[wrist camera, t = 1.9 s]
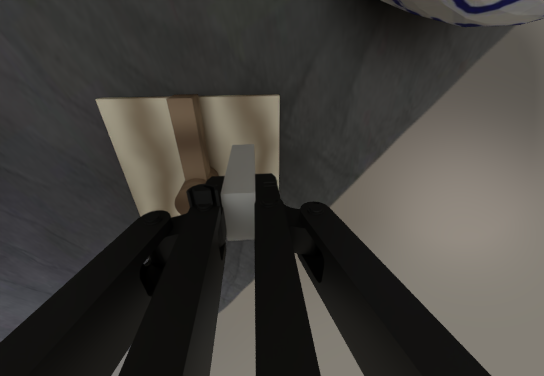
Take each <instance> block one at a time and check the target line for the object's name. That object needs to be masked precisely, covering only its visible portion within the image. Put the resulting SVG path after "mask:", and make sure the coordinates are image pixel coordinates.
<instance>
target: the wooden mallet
mask: <svg viewBox="0 0 544 376" xmlns="http://www.w3.org/2000/svg"><path fill="white" fill-rule="evenodd" d="M166 100H167V105H168V109H169V113H170V118H171V122H172V126H173V130H174V135H175V139H176V143H177V148H178V152H179V156H180V160H181V165H182V169H183V173H184V178H185V181H184V183H183V185H182V187H181V189H180V191H179V192H178V194H177V196H176V198H175V208H176V210H177V211H178V212H179V213H180V214H181V215H183V214H186V213H188V211H189V208H190V206H189V202H188V198H187V193H186V191H187V190H188V189H189V188H191V187H192V186H195V185H198V184H206V181H207V180H208V179H209V178H210V177H212V176H219V175H218V173H217V171H216V170H215V169H213V168H212V167H210V165H209V159H208V153H207V147H206V141H205V135H204V129H203V123H202V116H201V110H200V104H199V98H198V94H191V95H173V96H171V97H169V98H166Z"/></svg>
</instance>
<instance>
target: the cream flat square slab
mask: <svg viewBox="0 0 544 376" xmlns="http://www.w3.org/2000/svg"><path fill="white" fill-rule="evenodd" d="M170 97H171V96H170ZM166 98H169V97H118V98H99V99H95V100H96V102H97V105H98V107H99V110H100V113H101V115H102V118H103V120H104V123H105V126H106V128H107V131H108V133H109V136H110V139H111V141H112V144H113V146H114V149H115V152H116V154H117V157H118V159H119V162H120V165H121V167H122V170H123V172H124V175H125V178H126V180H127V183H128V185H129V188H130V191H131V193H132V196H133V198H134V201H135V203H136V206H137V209H138V211H139V214H140V216H142V215H144V214H146V213H149V212H151V211H156V210H164V211H167V212H169V213H170V215H171V217H175V216H179V215H181V214H180V213H179V212H178V211H177V210H176V208H175V198H176V196H177V194H178V192H179V191H180V189H181V187H182V185H183V183H184V181H185V178H184V173H183V169H182V165H181V160H180V156H179V152H178V148H177V143H176V139H175V135H174V130H173V126H172V122H171V118H170V113H169V109H168V105H167V100H166ZM198 98H199V104H200V110H201V116H202V123H203V129H204V135H205V141H206V147H207V153H208V159H209V165H210V167H212V168H213V169H215V170H216V171H217V173H218V175H219V176H225V173H226V169H227V165H228V161H229V157H230V153H231V149H232V145H245V144H254V154H255V174H265V173H272V174H273V175H274V176H275V177H276V180H277V185H278V190H279V120H280V95H279V94H274V95H222V96H198Z"/></svg>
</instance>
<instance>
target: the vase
mask: <svg viewBox="0 0 544 376" xmlns="http://www.w3.org/2000/svg"><path fill="white" fill-rule="evenodd" d="M381 1H383V2H385V3H388V4H390V5H392V6H395V7H397V8H400V9H402V10H404V11H407V12H409V13H412V14H415V15H419V16H423V17H426V18H430V19H434V20H438V21H442V22H445V23H449V24H453V25H457V26H461V27H483V26H505V25H521V24H525V23H529V22H533V21H537V20H541V19H544V0H381Z"/></svg>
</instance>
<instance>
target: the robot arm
mask: <svg viewBox="0 0 544 376" xmlns="http://www.w3.org/2000/svg"><path fill="white" fill-rule="evenodd" d="M186 193H187V198H188V202H189V206H190V208H189V211H188V213H186V214H183V215H179V216H175V217H171V215H170V213H169V212H167V211H164V210H156V211H151V212H149V213H146V214H144V215H142V216H141V217H140V218H138V219H137V220H136V221H135V222H134V223H133V224H132V225H130V226H129V227H128V228H127V229H126V230H125V231H124V232H123V233H122V234H120V235H119V236H118V237H117V238H116V239H115V240H114V241H113V242H112V243H110V244H109V245H108V246H107V247H106V248H105V249H104V250H103V251H102V252H100V253H99V254H98V255H97V256H96V257H95V258H94V259H93V260H92V261H90V262H89V263H88V264H87V265H86V266H85V267H84V268H83V269H82V270H80V271H79V272H78V273H77V274H76V275H75V276H74V277H73V278H72V279H70V280H69V281H68V282H67V283H66V284H65V285H64V286H63V287H62V288H60V289H59V290H58V291H57V292H56V293H55V294H54V295H53V296H52V297H50V298H49V299H48V300H47V301H46V302H45V303H44V304H43V305H42V306H40V307H39V308H38V309H37V310H36V311H35V312H34V313H33V314H31V315H30V316H29V317H28V318H27V319H26V320H25V321H24V322H23V323H21V324H20V325H19V326H18V327H17V328H16V329H15V330H14V331H13V332H11V333H10V334H9V335H8V336H7V337H6V338H5V339H4V340H3V341H1V342H0V376H111V375H112V373H113V372H114V370H115V369H116V367H117V366H118V364H119V363H120V361H121V360H122V358H123V356H124V355H125V353H126V352H127V350H128V349H129V347H130V345H131V344H132V345H131V347H130V350H129V352H128V354H127V357H126V359H125V361H124V364H123V366H122V368H121V371H120V373H119V376H209V375H210V367H211V361H212V353H213V346H214V338H215V331H216V323H217V316H218V308H219V301H220V294H221V286H222V279H223V271H224V264H225V256H226V242H225V240H226V235H227V241H236V240H253V239H255V326H256V327H255V334H256V376H321V375H320V370H319V366H318V361H317V357H316V352H315V347H314V343H313V338H312V334H311V329H310V324H309V320H308V315H307V311H306V306H305V301H304V297H303V292H302V288H301V282H300V278H299V273H298V268H297V264H296V259H295V255H294V253H297V254H298V258H299V259H300V261H301V263H302V265H303V267H304V268H305V270H306V272H307V274H308V276H309V277H310V279H311V281H312V283H313V285H314V286H315V288H316V290H317V292H318V294H319V295H320V297H321V299H322V301H323V302H324V304H325V306H326V308H327V310H328V312H329V313H330V315H331V317H332V319H333V320H334V322H335V324H336V326H337V327H338V329H339V331H340V333H341V335H342V337H343V338H344V340H345V342H346V344H347V346H348V347H349V349H350V351H351V353H352V354H353V356H354V358H355V360H356V362H357V364H358V365H359V367H360V369H361V371H362V372H363V374H364V376H491V375H490V374H489V373H488V372H487V371H486V370H485V369H484V368H483V367H482V366H481V365H480V364H479V363H478V361H477V360H476V359H475V358H474V357H473V356H472V355H471V354H470V353H469V352H468V351H467V350H466V349H465V348H464V347H463V346H462V345H461V344H460V343H459V342H458V341H457V340H456V339H455V338H454V336H453V335H451V333H450V332H449V331H448V330H447V329H446V328H445V327H444V326H443V325H442V324H441V323H440V322H439V321H438V320H437V319H436V318H435V317H434V316H433V315H432V314H431V313H430V312H429V311H428V309H426V307H425V306H424V305H423V304H422V303H421V302H420V301H419V300H418V299H417V298H416V297H415V296H414V295H413V294H412V293H411V292H410V291H409V290H408V289H407V288H406V287H405V286H404V285H403V284H402V283H401V281H400V280H399V279H398V278H397V277H396V276H395V275H394V274H393V273H392V272H391V271H390V270H389V269H388V268H387V267H386V266H385V265H384V264H383V263H382V262H381V261H380V260H379V259H378V258H377V257H376V256H375V254H374V253H373V252H372V251H371V250H370V249H369V248H368V247H367V246H366V245H365V244H364V243H363V242H362V241H361V240H360V239H359V238H358V237H357V236H356V235H355V234H354V233H353V232H352V231H351V230H350V229H349V227H348V226H347V225H345V223H344V222H343V221H342V220H341V219H340V218H339V217H338V216H337V215H336V214H335V213H334V212H333V211H332V210H331V209H330V208H329V207H328V206H327V205H325V204H323V203H320V202H307V203H304V204H303V205H302V206H301V208H300V209H295V208H290V207H288V206H286V205H284V204H283V201H282V200H281V199H280V195H279V190H278V185H277V180H276V177H275V176H274V175H273V174H272V173H265V174H255V154H254V144H245V145H232V149H231V153H230V157H229V161H228V165H227V169H226V173H225V176H212V177H210V178H209V179H208V180H207V181H206V184H198V185H195V186H192V187H191V188H189V189H188V190H187V191H186ZM147 258H149V260H148V262H147V263H146V264H143V263H144V262H145V260H146V259H147ZM132 342H133V343H132Z"/></svg>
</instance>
